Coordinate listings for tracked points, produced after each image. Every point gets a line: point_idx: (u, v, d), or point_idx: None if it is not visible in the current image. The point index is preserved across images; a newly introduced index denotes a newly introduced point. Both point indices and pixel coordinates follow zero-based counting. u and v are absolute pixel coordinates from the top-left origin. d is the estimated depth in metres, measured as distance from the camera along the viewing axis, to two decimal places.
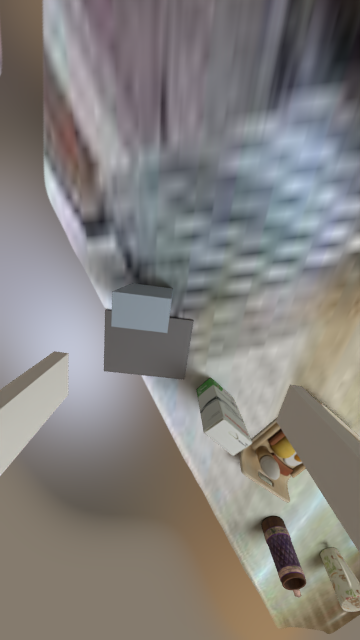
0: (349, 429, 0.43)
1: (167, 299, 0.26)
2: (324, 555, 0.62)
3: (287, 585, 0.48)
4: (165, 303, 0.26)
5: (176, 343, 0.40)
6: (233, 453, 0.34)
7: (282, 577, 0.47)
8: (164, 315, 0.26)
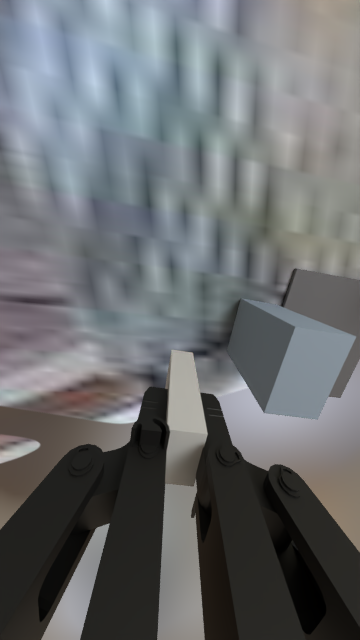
0: None
1: (294, 333, 0.14)
2: None
3: None
4: (300, 337, 0.14)
5: (327, 297, 0.25)
6: None
7: None
8: (322, 339, 0.14)
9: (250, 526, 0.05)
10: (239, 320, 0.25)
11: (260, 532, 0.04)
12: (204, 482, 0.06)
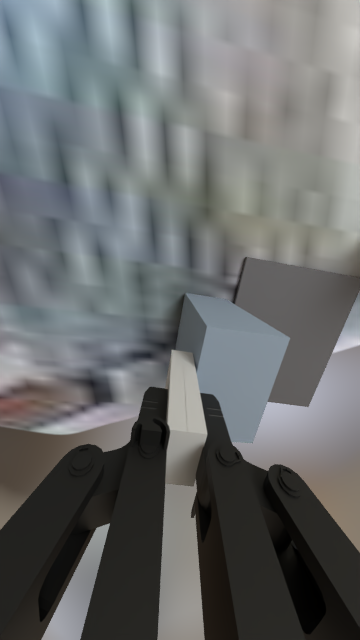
0: None
1: (207, 335, 0.10)
2: None
3: None
4: (216, 340, 0.11)
5: (285, 291, 0.22)
6: None
7: None
8: (245, 343, 0.11)
9: (250, 526, 0.05)
10: (182, 318, 0.21)
11: (260, 532, 0.04)
12: (204, 482, 0.06)
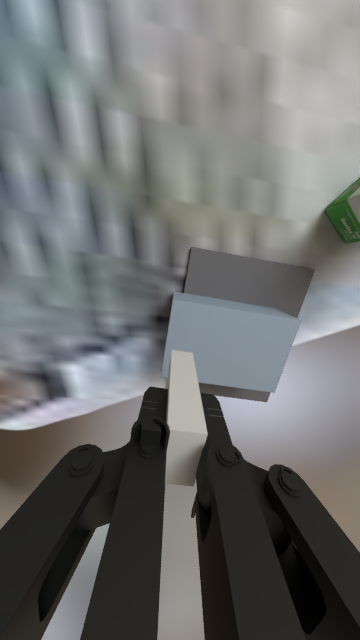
0: None
1: (298, 325, 0.18)
2: None
3: None
4: None
5: (234, 282, 0.21)
6: None
7: None
8: None
9: (250, 526, 0.05)
10: (185, 330, 0.17)
11: (260, 532, 0.04)
12: (204, 482, 0.06)
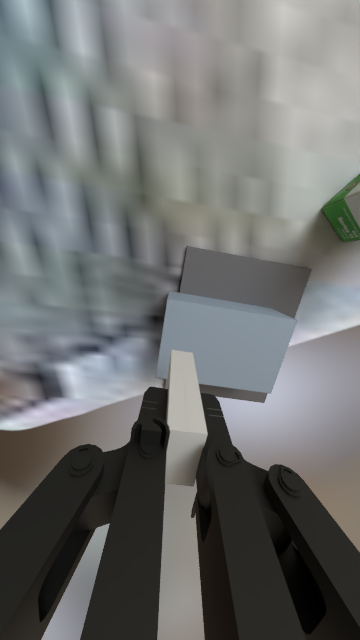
0: None
1: (294, 325, 0.17)
2: None
3: None
4: None
5: (230, 282, 0.21)
6: None
7: None
8: None
9: (250, 526, 0.05)
10: (179, 330, 0.17)
11: (260, 532, 0.04)
12: (204, 482, 0.06)
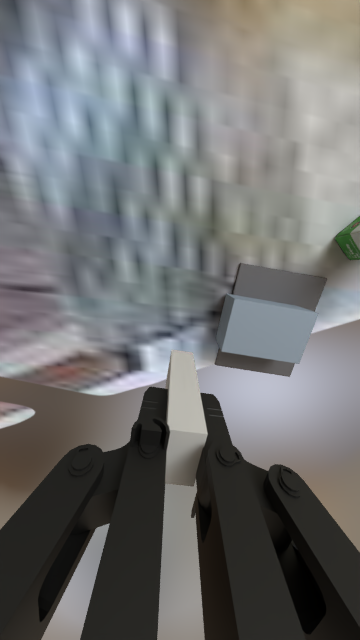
0: None
1: (316, 316, 0.26)
2: None
3: None
4: None
5: (269, 287, 0.30)
6: None
7: None
8: None
9: (250, 526, 0.05)
10: (240, 319, 0.26)
11: (260, 532, 0.04)
12: (204, 482, 0.06)
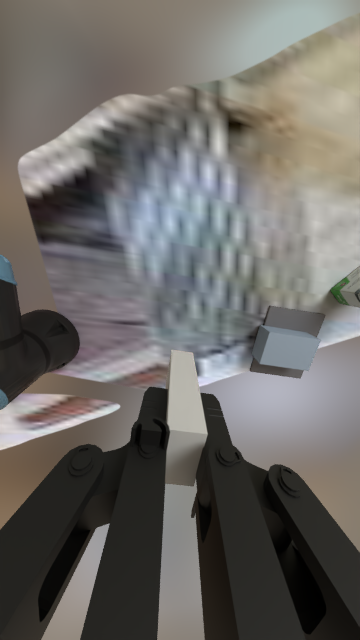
0: None
1: (319, 341, 0.42)
2: None
3: None
4: None
5: (288, 321, 0.46)
6: None
7: None
8: None
9: (250, 526, 0.05)
10: (272, 344, 0.42)
11: (260, 532, 0.04)
12: (204, 482, 0.06)
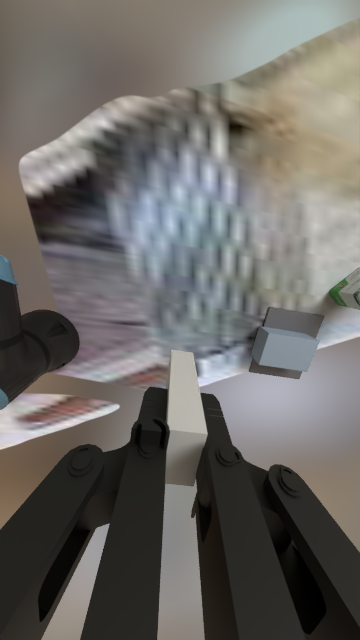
0: None
1: (318, 342, 0.43)
2: None
3: None
4: None
5: (287, 322, 0.46)
6: None
7: None
8: None
9: (250, 526, 0.05)
10: (272, 345, 0.42)
11: (260, 532, 0.04)
12: (204, 482, 0.06)
